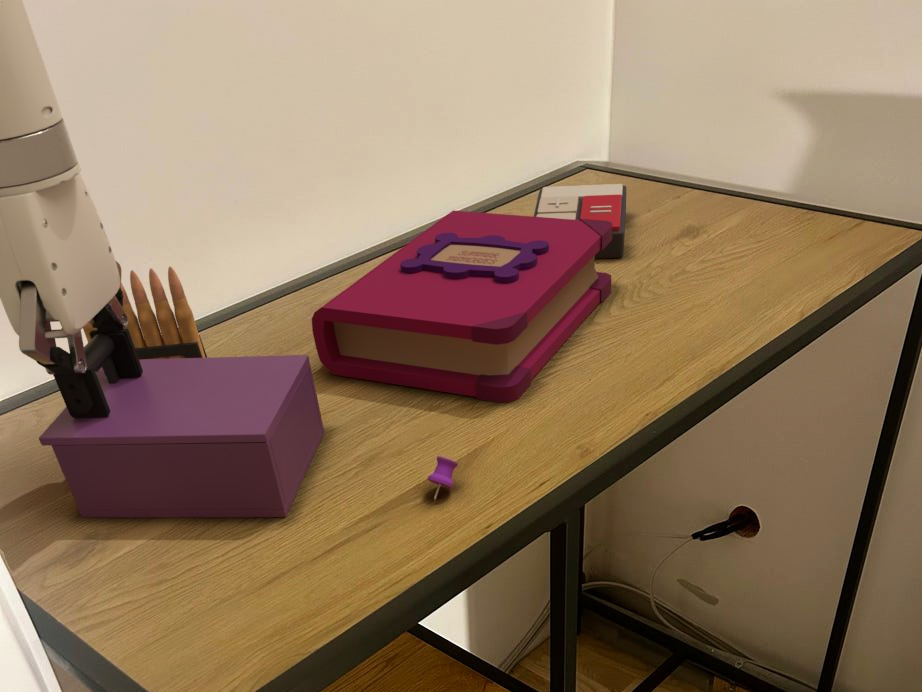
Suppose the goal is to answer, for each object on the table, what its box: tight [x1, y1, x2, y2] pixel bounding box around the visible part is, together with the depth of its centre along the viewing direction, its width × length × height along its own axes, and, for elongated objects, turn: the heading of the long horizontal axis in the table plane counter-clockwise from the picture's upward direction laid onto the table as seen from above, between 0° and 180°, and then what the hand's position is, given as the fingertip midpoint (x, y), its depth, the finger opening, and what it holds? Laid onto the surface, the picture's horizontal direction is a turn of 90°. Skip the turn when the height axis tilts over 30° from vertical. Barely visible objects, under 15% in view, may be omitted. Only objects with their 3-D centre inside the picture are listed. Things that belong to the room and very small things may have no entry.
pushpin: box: [427, 456, 459, 501], centre depth 76 cm, size 2×3×3 cm
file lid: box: [38, 334, 311, 446], centre depth 76 cm, size 18×13×5 cm
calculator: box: [533, 183, 627, 260], centre depth 116 cm, size 11×4×15 cm
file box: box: [51, 362, 326, 519], centre depth 80 cm, size 17×13×7 cm
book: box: [311, 210, 612, 403], centre depth 97 cm, size 21×28×8 cm
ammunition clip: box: [82, 266, 208, 373], centre depth 90 cm, size 11×2×12 cm, turn 93°
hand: (108, 393), depth 78 cm, fingers closed on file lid, 6 cm apart
